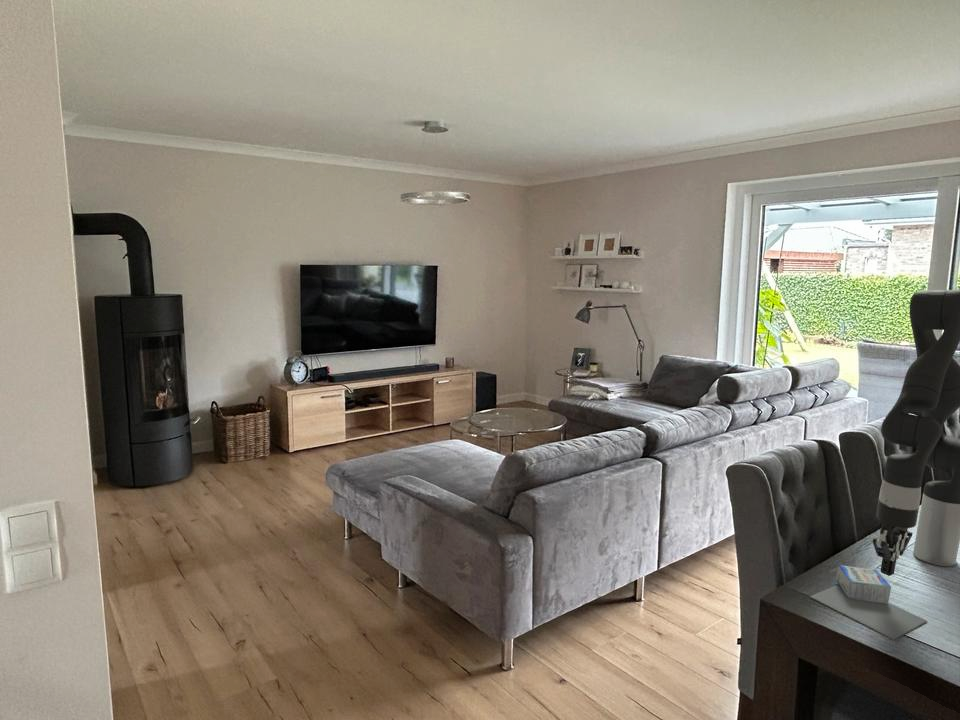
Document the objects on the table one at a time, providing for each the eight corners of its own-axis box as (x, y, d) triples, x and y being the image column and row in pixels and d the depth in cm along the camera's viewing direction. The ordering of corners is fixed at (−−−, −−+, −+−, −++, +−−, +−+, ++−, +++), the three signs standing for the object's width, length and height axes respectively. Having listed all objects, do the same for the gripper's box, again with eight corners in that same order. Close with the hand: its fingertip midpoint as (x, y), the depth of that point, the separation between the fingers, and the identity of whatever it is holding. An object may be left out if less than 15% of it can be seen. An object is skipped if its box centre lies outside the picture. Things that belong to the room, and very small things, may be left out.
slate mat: (843, 583, 150) (844, 581, 150) (927, 621, 135) (927, 620, 135) (810, 597, 143) (810, 596, 143) (893, 640, 128) (893, 638, 128)
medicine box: (892, 586, 140) (850, 580, 142) (888, 604, 141) (847, 598, 143) (877, 569, 148) (838, 564, 150) (874, 586, 149) (835, 581, 150)
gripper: (896, 491, 145) (884, 560, 148) (865, 500, 138) (854, 572, 141) (932, 502, 139) (919, 574, 142) (901, 513, 132) (889, 588, 135)
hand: (886, 573), depth 141 cm, fingers closed
